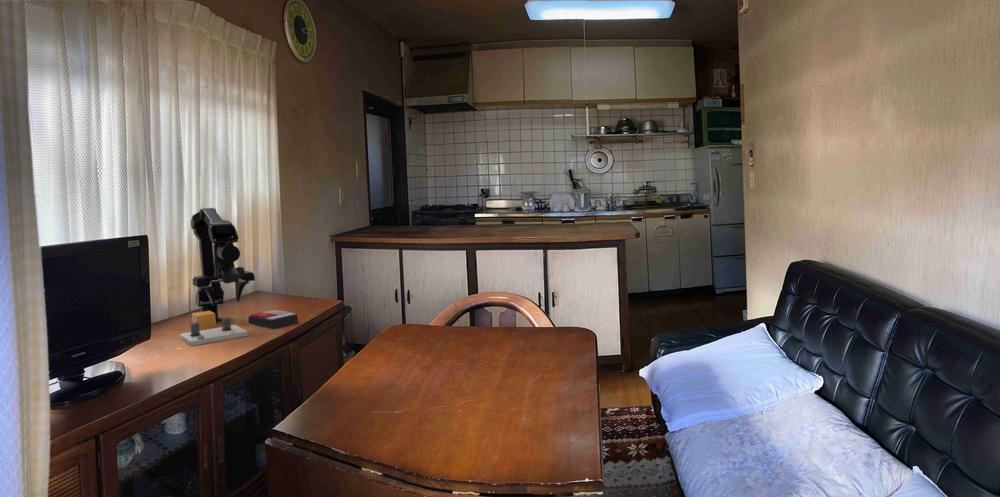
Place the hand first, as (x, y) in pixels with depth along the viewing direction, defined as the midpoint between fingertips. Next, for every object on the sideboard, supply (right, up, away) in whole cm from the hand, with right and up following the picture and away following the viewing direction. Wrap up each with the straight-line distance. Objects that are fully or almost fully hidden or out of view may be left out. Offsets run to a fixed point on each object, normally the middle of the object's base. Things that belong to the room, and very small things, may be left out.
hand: (225, 303), depth 199 cm
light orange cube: (-11, -10, +6) cm, 16 cm away
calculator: (+10, -10, +17) cm, 22 cm away
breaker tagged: (0, -9, +1) cm, 9 cm away
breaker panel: (-3, -11, -2) cm, 12 cm away
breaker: (-7, -10, -6) cm, 14 cm away
